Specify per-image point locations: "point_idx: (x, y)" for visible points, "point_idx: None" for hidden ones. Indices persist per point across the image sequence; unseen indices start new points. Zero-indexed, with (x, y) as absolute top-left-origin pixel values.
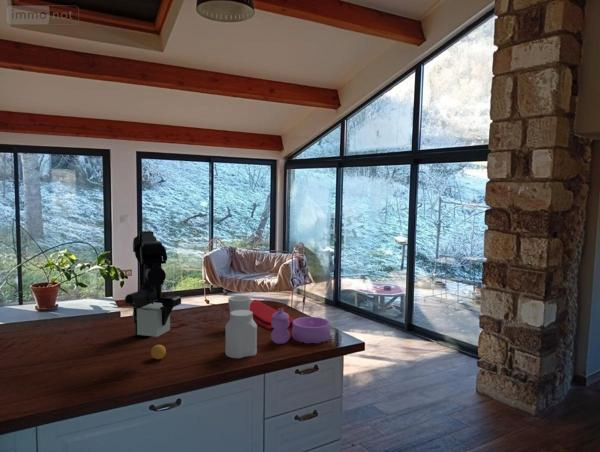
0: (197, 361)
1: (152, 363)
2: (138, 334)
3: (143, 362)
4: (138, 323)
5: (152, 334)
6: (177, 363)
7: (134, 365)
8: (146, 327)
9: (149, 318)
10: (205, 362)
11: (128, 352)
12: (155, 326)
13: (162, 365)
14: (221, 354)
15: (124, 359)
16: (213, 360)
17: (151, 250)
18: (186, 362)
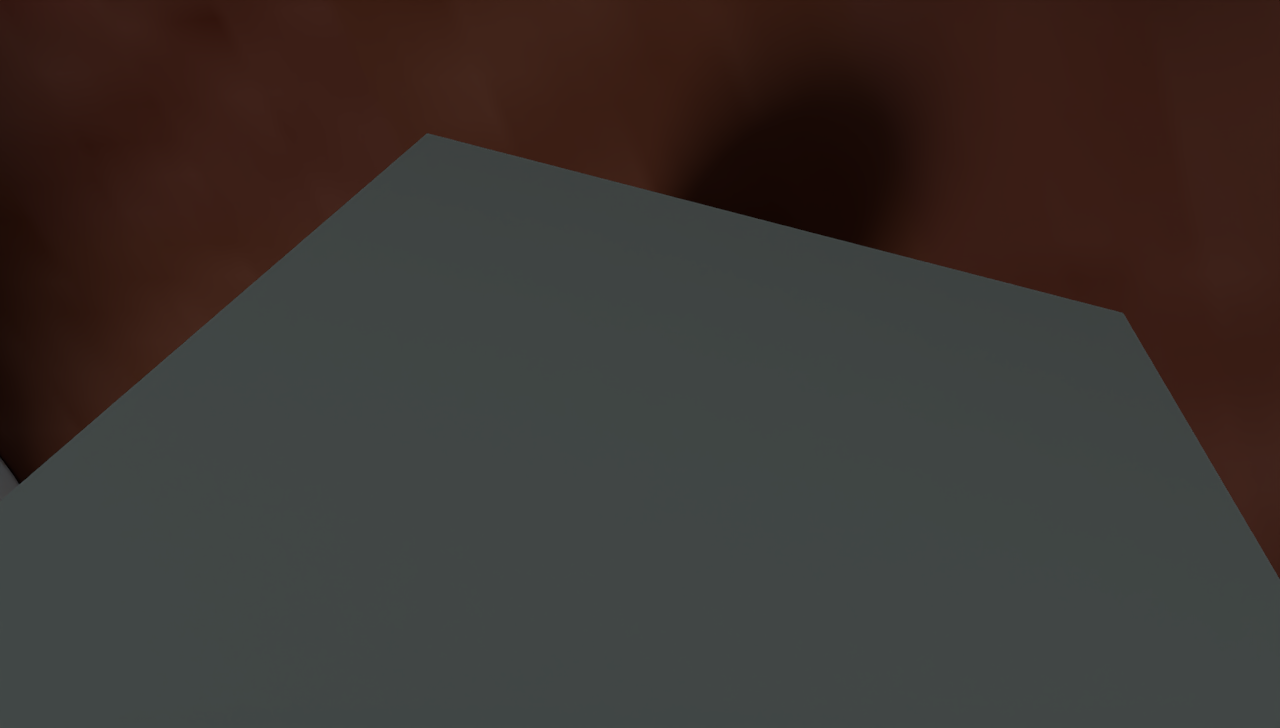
0: (167, 235)
1: (748, 125)
2: (1082, 307)
3: (908, 156)
4: (1195, 542)
5: (573, 197)
6: (382, 150)
7: (1030, 15)
8: (778, 355)
9: (534, 596)
10: (54, 207)
11: (1252, 513)
12: (338, 288)
13: (562, 56)
14: (36, 447)
15: (1270, 260)
16: (6, 275)
17: None
18: (282, 193)
